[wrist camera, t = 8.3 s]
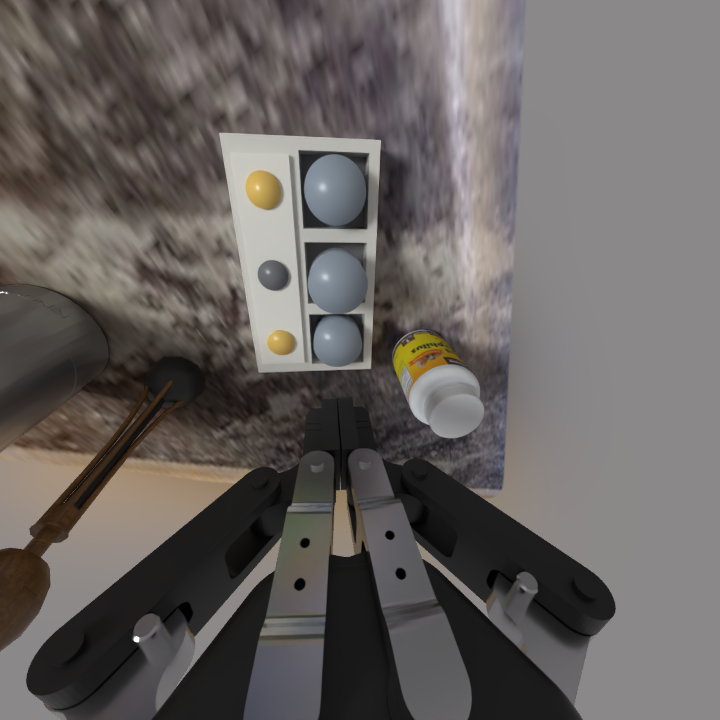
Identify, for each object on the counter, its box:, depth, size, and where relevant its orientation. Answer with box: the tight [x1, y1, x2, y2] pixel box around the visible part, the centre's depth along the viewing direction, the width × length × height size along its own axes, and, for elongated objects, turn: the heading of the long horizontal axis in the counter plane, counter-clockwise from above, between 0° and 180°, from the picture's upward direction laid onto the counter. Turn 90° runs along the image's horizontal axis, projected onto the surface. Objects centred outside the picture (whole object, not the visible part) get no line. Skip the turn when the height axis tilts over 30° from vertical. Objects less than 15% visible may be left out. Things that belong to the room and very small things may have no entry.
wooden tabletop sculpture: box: [0, 357, 205, 651], centre depth 19 cm, size 6×5×20 cm
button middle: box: [308, 248, 368, 314], centre depth 21 cm, size 4×4×3 cm
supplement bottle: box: [392, 330, 484, 438], centre depth 25 cm, size 6×6×10 cm
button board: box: [219, 133, 381, 373], centre depth 24 cm, size 17×10×2 cm, turn 179°
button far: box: [314, 314, 362, 367], centre depth 25 cm, size 4×4×3 cm
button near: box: [304, 154, 366, 226], centre depth 20 cm, size 4×4×3 cm
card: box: [229, 152, 305, 364], centre depth 22 cm, size 15×4×1 cm, turn 179°
